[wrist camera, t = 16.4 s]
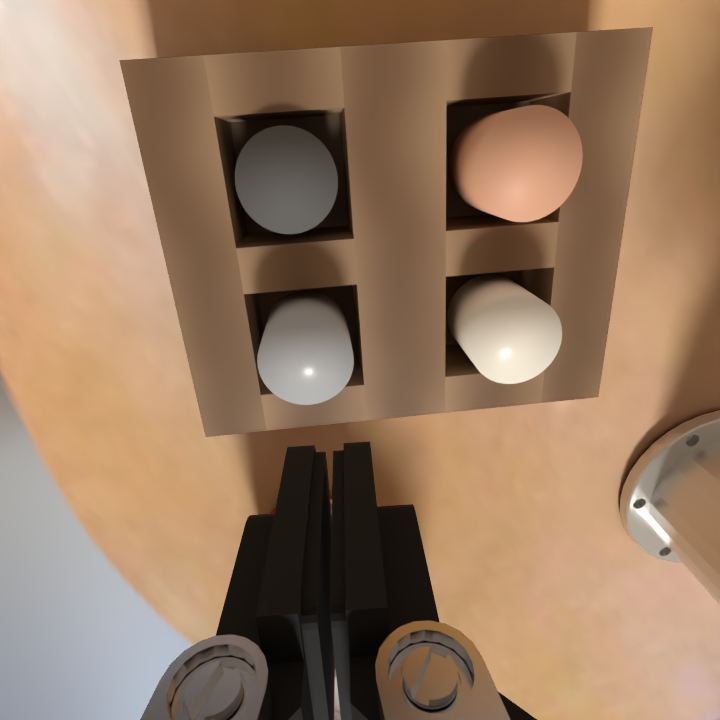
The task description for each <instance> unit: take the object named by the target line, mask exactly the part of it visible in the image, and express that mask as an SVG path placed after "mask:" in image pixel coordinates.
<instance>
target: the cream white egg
mask: <svg viewBox="0 0 720 720" xmlns="http://www.w3.org/2000/svg"><path fill="white" fill-rule="evenodd" d="M447 322H448V327H449V330H450V332H451V334H452V336H453V337H454V338H455V340H456V341H457V342H458V344H459V345H460V346H461V348H462V349H463V350H464V352H465V353H466V354H467V356H468V357H469V358H470V360H471V361H472V362H473V364H474V365H475V366H476V368H477V369H478V370H479V372H480V373H481V374H482V375H484V376H485V377H486V378H488V379H490V380H492V381H494V382H497V383H502V384H516V383H521V382H524V381H527V380H530V379H532V378H534V377H536V376H537V375H539V374H540V373H541V372H543V371H544V370H545V369H546V368H547V367H548V366H549V365H550V364H551V362H552V361H553V360H554V358H555V357H556V355H557V353H558V351H559V348H560V345H561V340H562V326H561V322H560V319H559V317H558V315H557V313H556V312H555V311H554V309H553V308H552V307H551V306H549V305H548V304H547V303H545V302H544V301H542V300H541V299H539V298H538V297H536V296H535V295H533V294H532V293H530V292H529V291H527V290H526V289H524V288H523V287H521V286H519V285H518V284H516V283H515V282H513V281H512V280H510V279H509V278H507V277H504V276H501V275H496V274H486V275H481V276H477V277H475V278H473V279H471V280H469V281H467V282H466V283H465V284H463V285H462V286H461V287H460V288H459V289H458V290H457V292H456V293H455V294H454V296H453V297H452V299H451V301H450V304H449V307H448V312H447Z"/></svg>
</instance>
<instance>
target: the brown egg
mask: <svg viewBox="0 0 720 720" xmlns="http://www.w3.org/2000/svg"><path fill="white" fill-rule="evenodd" d="M582 158H583V152H582V144H581V139H580V136H579V133H578V131H577V129H576V127H575V126H574V124H573V123H572V121H571V120H570V119H569V118H568V117H567V116H566V115H565V114H563V113H562V112H561V111H559V110H557V109H555V108H552V107H549V106H544V105H530V106H524V107H520V108H515V109H510V110H506V111H501V112H497V113H492V114H488V115H484V116H482V117H480V118H477V119H476V120H474V121H472V122H471V123H470V124H469V125H467V126H466V127H465V128H464V129H463V130H462V132H461V133H460V134H459V136H458V137H457V139H456V141H455V142H454V145H453V147H452V150H451V153H450V158H449V177H450V181H451V184H452V187H453V189H454V191H455V192H456V194H457V196H458V197H459V198H460V199H461V200H462V201H463V202H464V203H466V204H467V205H469V206H471V207H473V208H475V209H478V210H481V211H483V212H486V213H489V214H492V215H495V216H498V217H500V218H503V219H506V220H510V221H514V222H530V221H534V220H538V219H541V218H543V217H545V216H547V215H549V214H550V213H552V212H553V211H555V210H556V209H557V208H559V207H560V206H561V205H562V204H563V203H564V202H565V200H566V199H567V198H568V197H569V195H570V194H571V192H572V191H573V189H574V187H575V185H576V183H577V181H578V178H579V175H580V172H581V167H582Z"/></svg>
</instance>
